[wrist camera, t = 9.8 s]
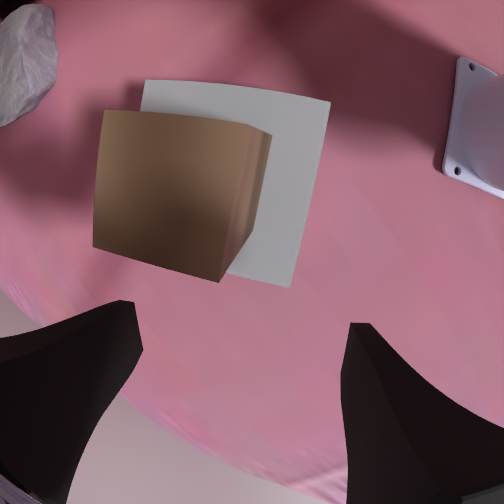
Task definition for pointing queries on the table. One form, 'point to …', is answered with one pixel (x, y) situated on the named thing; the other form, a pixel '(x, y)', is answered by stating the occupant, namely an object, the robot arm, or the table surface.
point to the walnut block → (177, 189)
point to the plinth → (277, 169)
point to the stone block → (26, 60)
